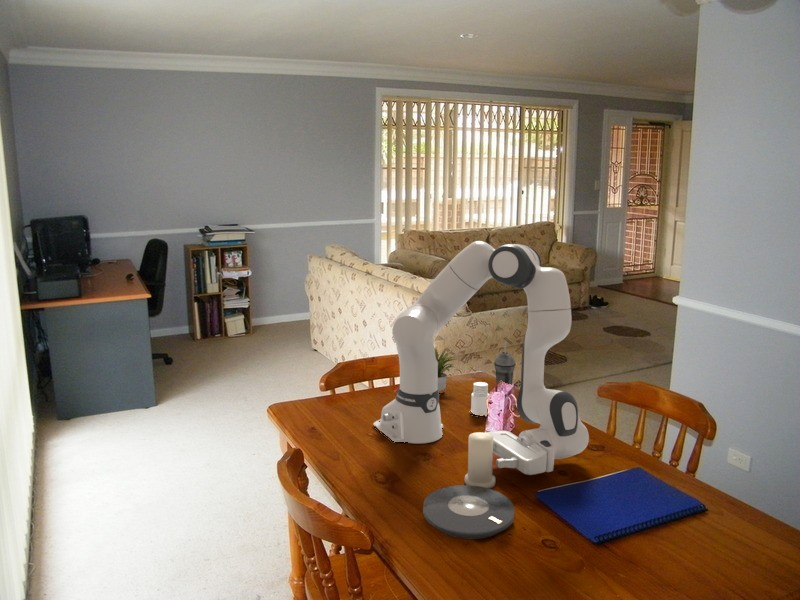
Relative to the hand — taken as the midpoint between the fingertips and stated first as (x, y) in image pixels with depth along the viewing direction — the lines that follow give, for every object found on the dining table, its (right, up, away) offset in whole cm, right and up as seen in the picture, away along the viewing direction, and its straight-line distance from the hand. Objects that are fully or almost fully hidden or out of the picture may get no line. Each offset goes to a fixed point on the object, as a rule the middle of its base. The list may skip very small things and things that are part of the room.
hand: (486, 456), depth 161 cm
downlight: (+4, +2, +48) cm, 48 cm away
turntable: (-6, -8, -18) cm, 21 cm away
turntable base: (-6, -10, -17) cm, 21 cm away
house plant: (-8, +6, +68) cm, 69 cm away
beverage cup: (+15, +5, +65) cm, 67 cm away
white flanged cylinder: (-2, -7, 0) cm, 7 cm away
